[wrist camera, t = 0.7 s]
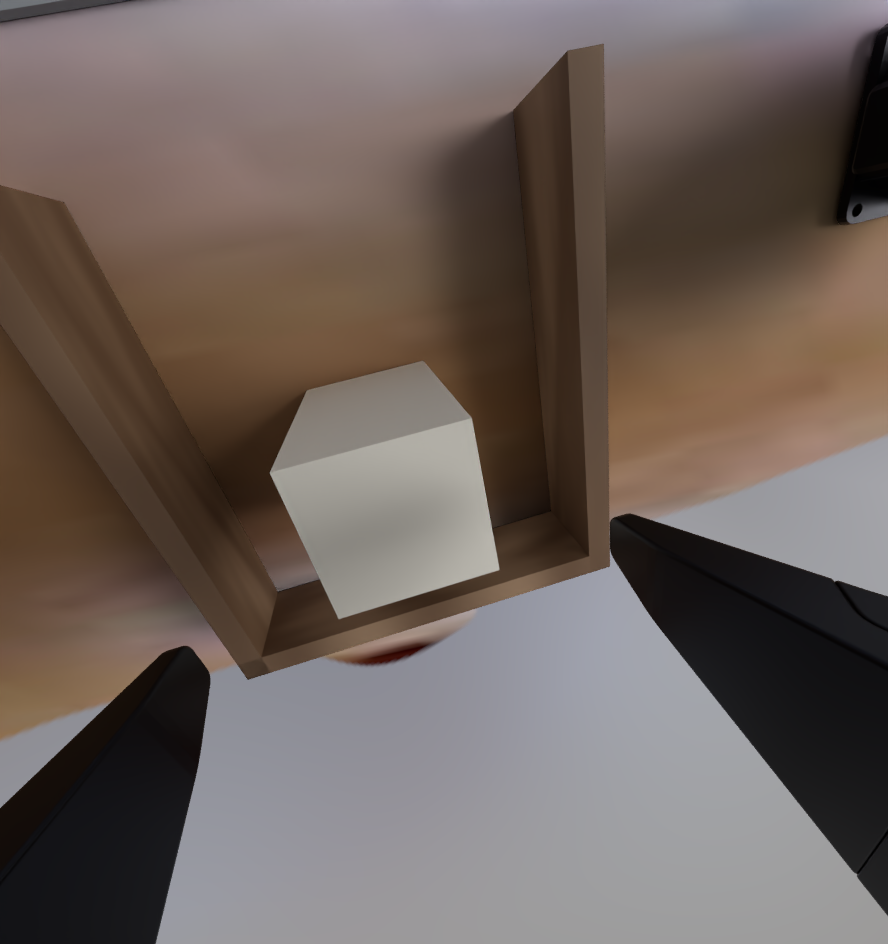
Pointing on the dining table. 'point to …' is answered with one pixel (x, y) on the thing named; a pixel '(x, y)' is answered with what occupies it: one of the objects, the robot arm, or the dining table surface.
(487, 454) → the dining table surface
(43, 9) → the mat
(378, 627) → the u-shaped frame
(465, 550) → the block
